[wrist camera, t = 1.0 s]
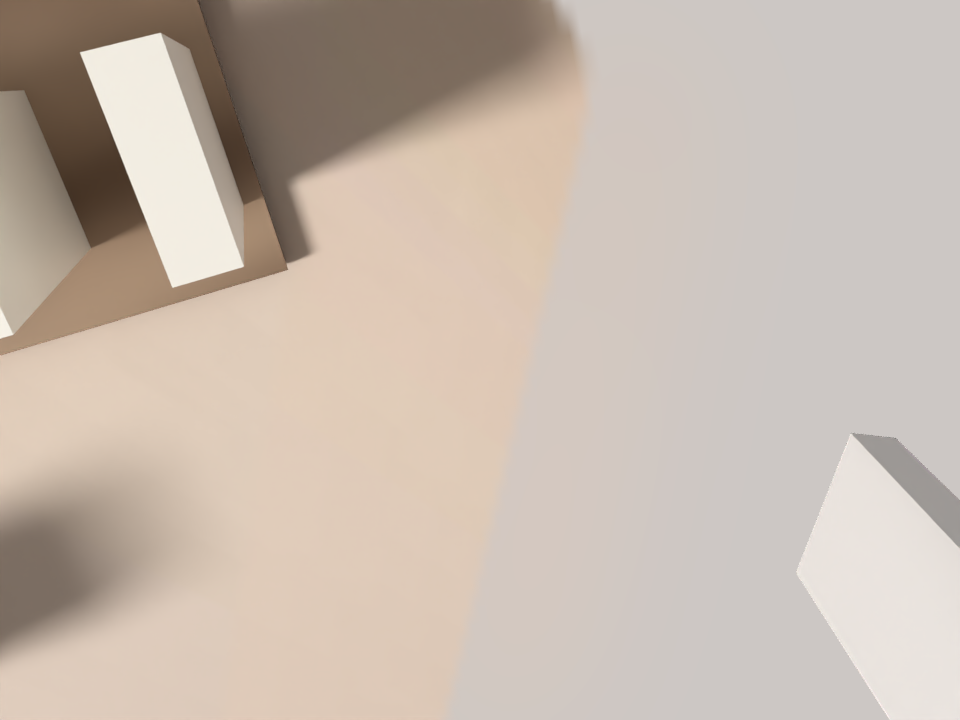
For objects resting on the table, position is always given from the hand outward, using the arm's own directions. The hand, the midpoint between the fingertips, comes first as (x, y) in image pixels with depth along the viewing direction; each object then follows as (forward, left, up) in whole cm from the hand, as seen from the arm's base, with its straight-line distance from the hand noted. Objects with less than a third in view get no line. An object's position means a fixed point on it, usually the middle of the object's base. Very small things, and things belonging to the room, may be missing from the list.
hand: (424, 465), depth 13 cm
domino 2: (-5, -3, -18) cm, 19 cm away
